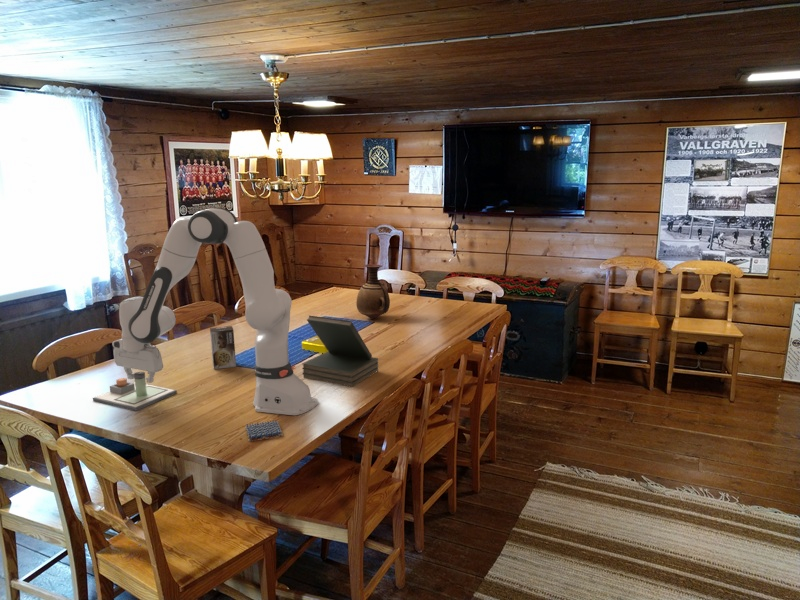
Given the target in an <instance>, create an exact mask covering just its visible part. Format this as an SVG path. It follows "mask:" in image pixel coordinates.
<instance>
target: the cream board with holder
mask: <svg viewBox="0 0 800 600" xmlns="http://www.w3.org/2000/svg"><path fill="white" fill-rule="evenodd" d="M146 391H147V395H145V396H140V397H139V396H136V387H135V381H134V382H131V381H130V382H129V381H127V385H126V386H124V387H117V383H114V384H111V385H109V391H108V392H105V393H102V394H100V395H97V396H95V397H92V401H93V402H97V403H99V404H100V403H101V404H105V405H110V406H113V407H117V408H121V409H127V410H130V411H131V410H132V411H134V412H137V411H140V410H141V409H144V408H146V407H149V406H150V405H153V404H155V403H157V402H159V401H162V400H164V399H166V398H168V397H171V396H173V395H175V394H178V391H177V390H176V389H172V388H167V387H163V386H159V385H152V384H150V383H149V384H148V383H146Z"/></svg>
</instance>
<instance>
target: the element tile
mask: <svg viewBox="0 0 800 600" xmlns="http://www.w3.org/2000/svg"><path fill="white" fill-rule="evenodd" d="M302 349H305V350H310V351H314V352H319V353H326V352H328V350H327V348H326V347H325V346H324V344H323V343H322V341H321V340H320V338H319V337H318V335H317V334H316V335H315V336H312V337H310V338H307V339H304V340H302V341H301V350H302ZM314 352H313V353H314ZM319 353H318V354H319Z"/></svg>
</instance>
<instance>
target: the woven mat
mask: <svg viewBox="0 0 800 600" xmlns="http://www.w3.org/2000/svg"><path fill="white" fill-rule="evenodd" d="M244 427H245V428H244V431H245V434H247V441H248V442H255V441H262V440H267V439H273V438H279V437H280V438H281V437H283V436H284V434H283V431H282V430H281V429H282V428H281V426H280V424H279V421H277V420H275V421H274V419H272V421H271V420H270V421H269V420H267V421H265V422H264V421H262V422H260V423H259V422H257V423H253V422H252V423H250V424H248V423H247V424H246V425H245V426H244Z"/></svg>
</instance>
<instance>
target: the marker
mask: <svg viewBox="0 0 800 600" xmlns="http://www.w3.org/2000/svg"><path fill="white" fill-rule="evenodd" d="M134 382H135V387H136V396H139V397H140V396H145V395H147V391H146V384H147V380H146V371H137V372H134Z"/></svg>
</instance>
